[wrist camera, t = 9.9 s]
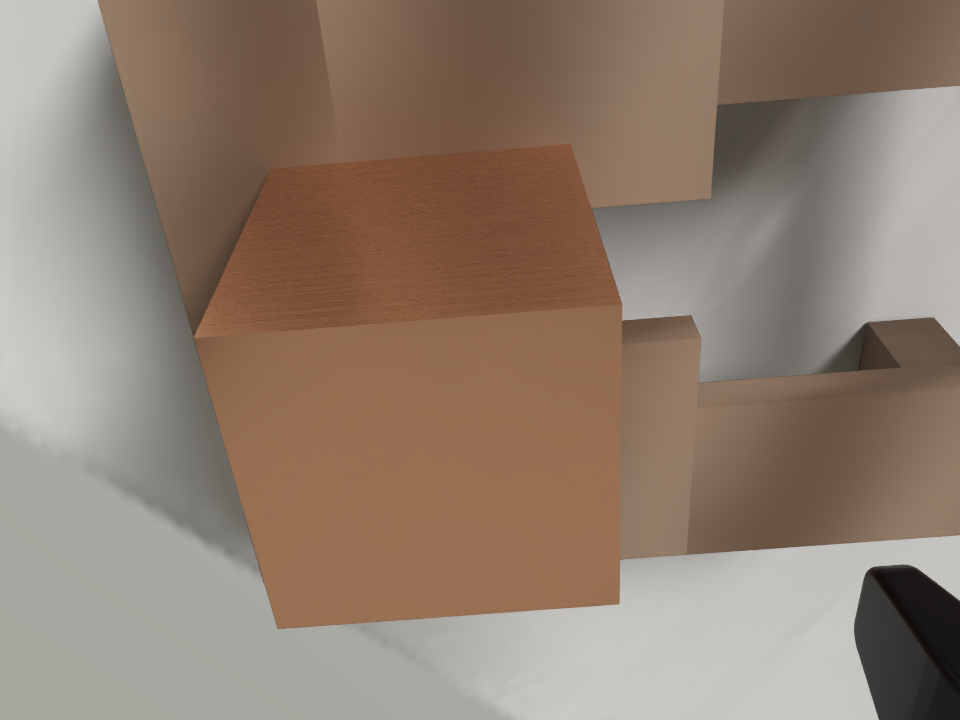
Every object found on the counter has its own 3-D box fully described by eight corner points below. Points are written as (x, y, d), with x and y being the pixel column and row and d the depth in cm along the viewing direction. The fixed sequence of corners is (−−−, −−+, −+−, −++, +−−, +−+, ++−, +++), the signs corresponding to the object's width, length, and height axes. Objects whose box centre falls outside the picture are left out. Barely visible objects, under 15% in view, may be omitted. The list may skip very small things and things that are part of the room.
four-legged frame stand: (1069, -231, 16) (1317, -232, 12) (927, 378, 23) (1046, 529, 19) (172, -154, 16) (62, -125, 12) (301, 424, 23) (264, 584, 19)
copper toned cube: (558, 304, 19) (619, 604, 12) (340, 320, 19) (277, 628, 12) (551, 83, 17) (622, 304, 10) (300, 104, 17) (192, 338, 10)
